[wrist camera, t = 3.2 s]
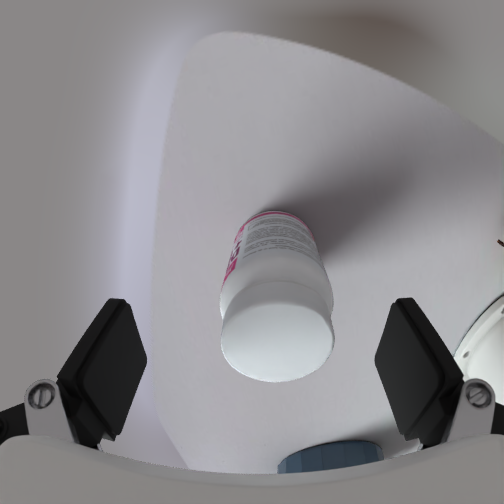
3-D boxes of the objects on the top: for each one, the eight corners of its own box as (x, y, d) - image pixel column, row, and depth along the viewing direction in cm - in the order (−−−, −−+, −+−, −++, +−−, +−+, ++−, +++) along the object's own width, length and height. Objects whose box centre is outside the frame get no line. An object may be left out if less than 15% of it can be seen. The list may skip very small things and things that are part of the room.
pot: (396, 431, 26) (409, 479, 20) (363, 472, 32) (369, 508, 26) (281, 444, 27) (281, 499, 20) (274, 480, 33) (274, 519, 26)
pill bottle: (226, 216, 16) (191, 298, 9) (309, 203, 16) (347, 278, 8) (242, 286, 18) (227, 392, 11) (316, 276, 18) (345, 380, 10)
